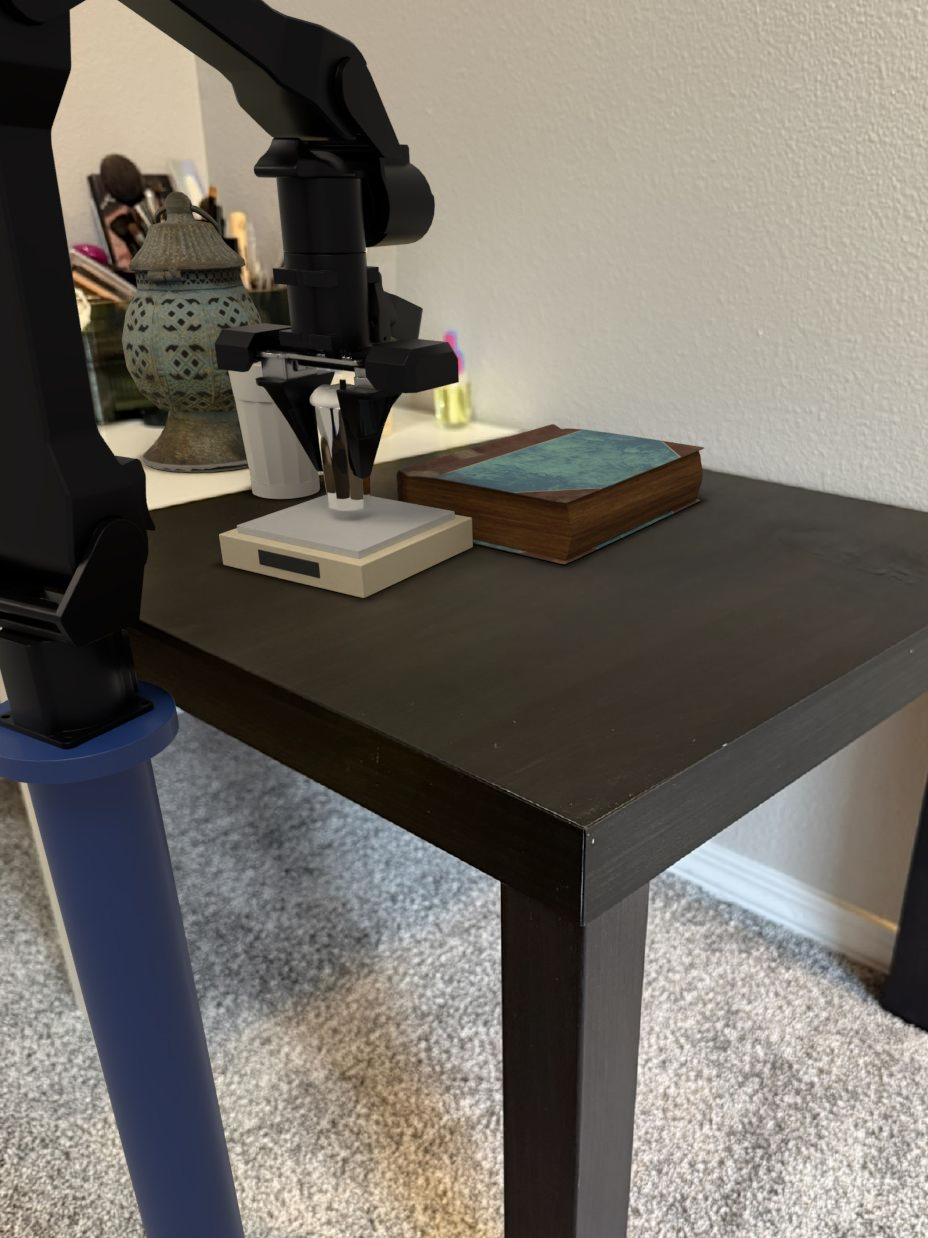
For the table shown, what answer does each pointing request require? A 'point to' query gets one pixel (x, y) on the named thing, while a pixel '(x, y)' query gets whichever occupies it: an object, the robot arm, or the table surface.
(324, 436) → the milkshake
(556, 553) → the book
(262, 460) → the cup
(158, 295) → the lantern
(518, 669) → the table surface
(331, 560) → the scale
